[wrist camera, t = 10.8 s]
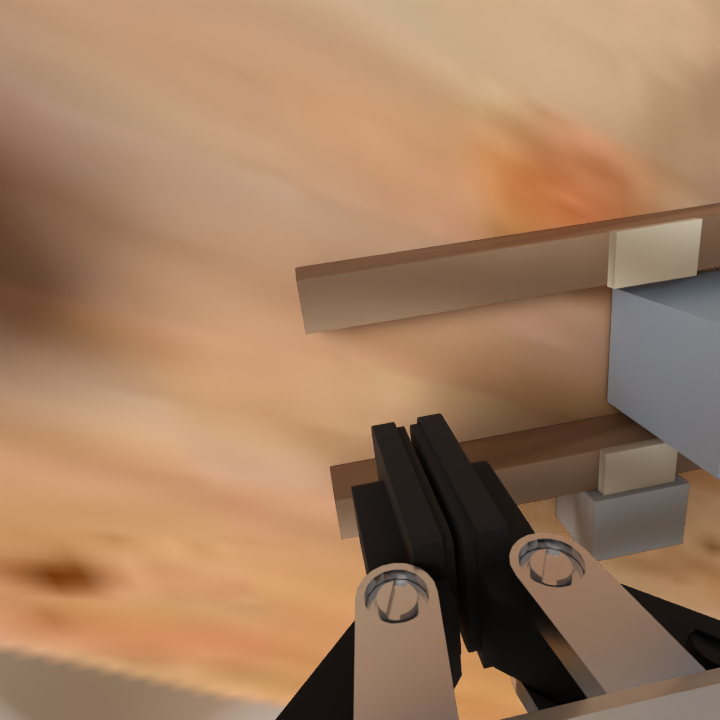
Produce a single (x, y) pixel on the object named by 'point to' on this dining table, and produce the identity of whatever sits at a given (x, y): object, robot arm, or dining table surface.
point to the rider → (670, 363)
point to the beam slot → (558, 442)
